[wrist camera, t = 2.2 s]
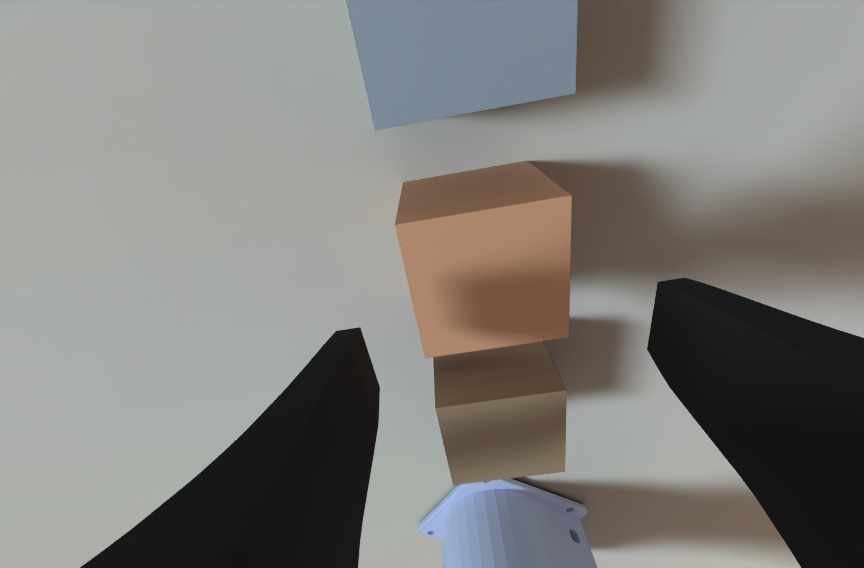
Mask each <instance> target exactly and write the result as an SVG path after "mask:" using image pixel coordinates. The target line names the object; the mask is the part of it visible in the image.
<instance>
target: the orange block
mask: <svg viewBox="0 0 864 568" xmlns="http://www.w3.org/2000/svg"><path fill="white" fill-rule="evenodd" d="M571 208H572V195H571V194H569V193H568V192H567V191H566V190H564V189H563V188H562V187H560V186H559V185H558V184H557V183H555V182H554V181H553V180H551V179H550V178H549V177H548V176H546V175H545V174H544V173H542V172H541V171H540V170H539V169H537V168H536V167H535V166H533V165H532V164H531V163H530V162H528V161H523V162H517V163H511V164H506V165H500V166H494V167H489V168H483V169H477V170H471V171H466V172H460V173H454V174H449V175H443V176H437V177H431V178H426V179H420V180H414V181H409V182H403V185H402V190H401V196H400V201H399V206H398V211H397V217H396V222H395V227H396V232H397V236H398V240H399V245H400V249H401V254H402V258H403V262H404V267H405V271H406V276H407V280H408V284H409V289H410V293H411V298H412V302H413V306H414V311H415V315H416V320H417V324H418V328H419V333H420V337H421V341H422V346H423V350H424V355H425V358H430V357H437V356H444V355H451V354H458V353H465V352H472V351H479V350H485V349H492V348H499V347H506V346H513V345H520V344H527V343H534V342H541V341H548V340H555V339H562V338H569V302H570V255H571Z"/></svg>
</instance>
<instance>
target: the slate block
mask: <svg viewBox="0 0 864 568" xmlns="http://www.w3.org/2000/svg"><path fill="white" fill-rule="evenodd" d="M346 3H347V7H348V12H349V16H350V20H351V25H352V29H353V34H354V38H355V43H356V47H357V51H358V56H359V60H360V65H361V69H362V74H363V78H364V82H365V87H366V91H367V96H368V100H369V105H370V109H371V113H372V118H373V122H374V127H375V130H380V129H385V128H391V127H396V126H402V125H407V124H412V123H418V122H423V121H429V120H434V119H440V118H445V117H450V116H456V115H461V114H467V113H472V112H478V111H483V110H488V109H494V108H499V107H505V106H510V105H515V104H521V103H526V102H532V101H537V100H543V99H548V98H553V97H559V96H564V95H570V94H575V93H576V54H577V10H578V0H346Z"/></svg>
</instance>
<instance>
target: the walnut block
mask: <svg viewBox="0 0 864 568" xmlns="http://www.w3.org/2000/svg"><path fill="white" fill-rule="evenodd" d="M433 359H434V383H435V408H436V413H437V417H438V421H439V426H440V430H441V434H442V439H443V443H444V447H445V452H446V456H447V460H448V465H449V469H450V473H451V478H452V482H453V485H460V484H468V483H476V482H484V481H492V480H501V479H509V478H517V477H525V476H533V475H541V474H549V473H557V472H565V443H566V388H565V386H564V384H563V382H562V380H561V378H560V375H559V373H558V371H557V369H556V367H555V365H554V363H553V360H552V358H551V356H550V354H549V352H548V350H547V347H546V345H545V343H544V341H541V342H534V343H527V344H520V345H513V346H506V347H499V348H492V349H485V350H479V351H472V352H465V353H458V354H451V355H444V356H437V357H433Z"/></svg>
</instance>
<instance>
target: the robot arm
mask: <svg viewBox="0 0 864 568" xmlns="http://www.w3.org/2000/svg"><path fill="white" fill-rule="evenodd" d="M647 350H648V352H649V353H650V355H651V357H652V359H653V360H654V362H655V364H656V366H657V367H658V369H659V371H660V372H661V374H662V376H663V377H664V379H665V380H666V382H667V384H668V385H669V387H670V388H671V389H672V391H673V392H674V393H675V395H676V396H677V397H678V398H679V400H680V401H681V402H682V404H683V405H684V406H685V407H686V409H687V410H688V411H689V413H690V414H691V415H692V416H693V418H694V419H695V420H696V421H697V423H698V424H699V425H700V426H701V428H702V429H703V430H704V431H705V433H706V434H707V435H708V436H709V438H710V439H711V440H712V441H713V443H714V444H715V445H716V446H717V448H718V449H719V450H720V451H721V453H722V454H723V455H724V456H725V458H726V459H727V460H728V461H729V463H730V464H731V465H732V466H733V468H734V469H735V470H736V471H737V473H738V474H739V475H740V477H741V478H742V479H743V481H744V482H745V483H746V485H747V486H748V488H749V489H750V490H751V492H752V493H753V494H754V496H755V497H756V499H757V500H758V502H759V503H760V505H761V506H762V508H763V509H764V511H765V512H766V514H767V515H768V517H769V518H770V520H771V521H772V523H773V524H774V526H775V527H776V529H777V530H778V532H779V533H780V535H781V536H782V538H783V539H784V541H785V542H786V544H787V545H788V547H789V549H790V550H791V552H792V553H793V555H794V557H795V558H796V560H797V561H798V563H799V565H800V566H801V568H864V338H862V337H859V336H855V335H852V334H849V333H846V332H843V331H840V330H837V329H834V328H831V327H828V326H825V325H822V324H819V323H816V322H813V321H810V320H807V319H804V318H801V317H798V316H795V315H792V314H790V313H787V312H784V311H781V310H778V309H776V308H773V307H770V306H767V305H764V304H762V303H759V302H756V301H753V300H750V299H748V298H745V297H742V296H739V295H736V294H734V293H731V292H728V291H725V290H722V289H719V288H716V287H713V286H710V285H707V284H704V283H701V282H698V281H694V280H690V279H687V278H681V279H674V280H668V281H661V282H658V284H657V291H656V297H655V303H654V310H653V316H652V322H651V329H650V335H649V341H648V348H647ZM379 392H380V387H379V384H378V381H377V378H376V375H375V372H374V369H373V365H372V362H371V359H370V356H369V353H368V350H367V347H366V344H365V341H364V338H363V335H362V332H361V329H360V328H353V329H347V330H340V331H336V332H335V333H334V334H333V335H332V336H331V337H330V338H329V340H328V341H327V342H326V343H325V344H324V345H323V347H322V348H321V349H320V350H319V351H318V352H317V354H316V355H315V356H314V357H313V358H312V359H311V361H310V362H309V363H308V364H307V365H306V366H305V368H304V369H303V370H302V371H301V372H300V373H299V374H298V375H297V377H296V378H295V379H294V380H293V381H292V382H291V383H290V385H289V386H288V387H287V388H286V389H285V390H284V391H283V392H282V394H281V395H280V396H279V397H278V398H277V399H276V400H275V401H274V402H273V403H272V404H271V405H270V406H269V407H268V408H267V409H266V410H265V411H264V412H263V413H262V414H261V415H260V417H259V418H258V419H257V420H256V421H255V422H254V423H253V424H252V425H251V426H250V427H249V428H248V429H247V430H246V431H245V432H244V433H243V434H242V435H241V436H240V437H239V438H238V439H237V440H236V441H235V442H234V443H233V444H231V445H230V446H229V447H228V448H227V449H226V450H225V451H224V452H223V453H222V454H221V455H220V456H218V457H217V458H216V459H215V460H214V461H213V462H212V463H211V464H210V465H208V466H207V467H206V468H205V469H204V470H203V471H202V472H201V473H200V474H198V475H197V476H196V477H195V478H194V479H193V480H191V481H190V482H189V483H188V484H187V485H185V486H184V487H183V488H182V489H180V490H179V491H178V492H177V493H176V494H174V495H173V496H172V497H171V498H169V499H168V500H167V501H166V502H164V503H163V504H162V505H161V506H160V507H158V508H157V509H156V510H155V511H153V512H152V513H151V514H150V515H149V516H147V517H146V518H145V519H144V520H142V521H141V522H140V523H139V524H137V525H136V526H135V527H134V528H132V529H131V530H130V531H129V532H127V533H126V534H125V535H123V536H122V537H121V538H119V539H118V540H117V541H115V542H114V543H113V544H111V545H110V546H109V547H107V548H106V549H105V550H103V551H102V552H101V553H99V554H98V555H97V556H95V557H94V558H93V559H91V560H90V561H89V562H87V563H86V564H85V565H83V566H82V567H80V568H358V560H359V546H360V537H361V529H362V521H363V515H364V509H365V503H366V497H367V491H368V485H369V479H370V473H371V467H372V461H373V455H374V449H375V442H376V436H377V430H378V419H379ZM587 513H588V511H587V509H586V506H585V505H583V504H580V503H577V502H574V501H572V500H569V499H566V498H563V497H561V496H558V495H555V494H552V493H550V492H547V491H544V490H541V489H539V488H536V487H533V486H530V485H528V484H525V483H522V482H519V481H516V480H514V479H511V478H509V479H501V480H492V481H484V482H476V483H468V484H460V485H458V486H457V487H456V488H455V489H454V490H453V491H452V492H451V493H450V494H449V495H448V496H447V497H446V498H445V499H444V500H443V501H442V502H441V503H440V504H439V505H438V506H437V507H436V508H435V509H434V510H433V511H432V512H431V513H430V514H429V515H428V516H427V517H426V518H425V519H424V520H423V521H422V522H421V523H420V524H419V525H418V532H419V533H420V534H423V535H426V536H430V537H433V538H437V539H440V540H443V556H444V568H597V565H596V562H595V560H594V557H593V554H592V551H591V549H590V546H589V543H588V540H587V537H586V535H585V532H584V529H583V526H582V524H581V521H580V519H581V518H583V517H584V516H586V515H587Z"/></svg>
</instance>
